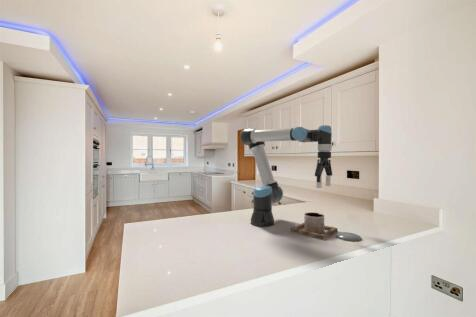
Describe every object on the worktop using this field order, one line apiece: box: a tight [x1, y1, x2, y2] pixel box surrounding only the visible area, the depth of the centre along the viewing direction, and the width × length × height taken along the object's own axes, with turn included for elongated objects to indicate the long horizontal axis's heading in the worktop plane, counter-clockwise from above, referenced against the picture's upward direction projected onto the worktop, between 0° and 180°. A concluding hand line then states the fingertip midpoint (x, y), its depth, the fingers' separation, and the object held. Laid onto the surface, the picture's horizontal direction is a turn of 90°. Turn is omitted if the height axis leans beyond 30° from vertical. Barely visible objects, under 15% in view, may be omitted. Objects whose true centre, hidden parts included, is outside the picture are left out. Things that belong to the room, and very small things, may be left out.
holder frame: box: [290, 222, 338, 241], centre depth 126 cm, size 19×19×2 cm
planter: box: [303, 212, 325, 234], centre depth 126 cm, size 11×11×10 cm
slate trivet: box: [335, 231, 362, 242], centre depth 116 cm, size 12×12×1 cm
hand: (323, 187), depth 133 cm, fingers open, 13 cm apart
